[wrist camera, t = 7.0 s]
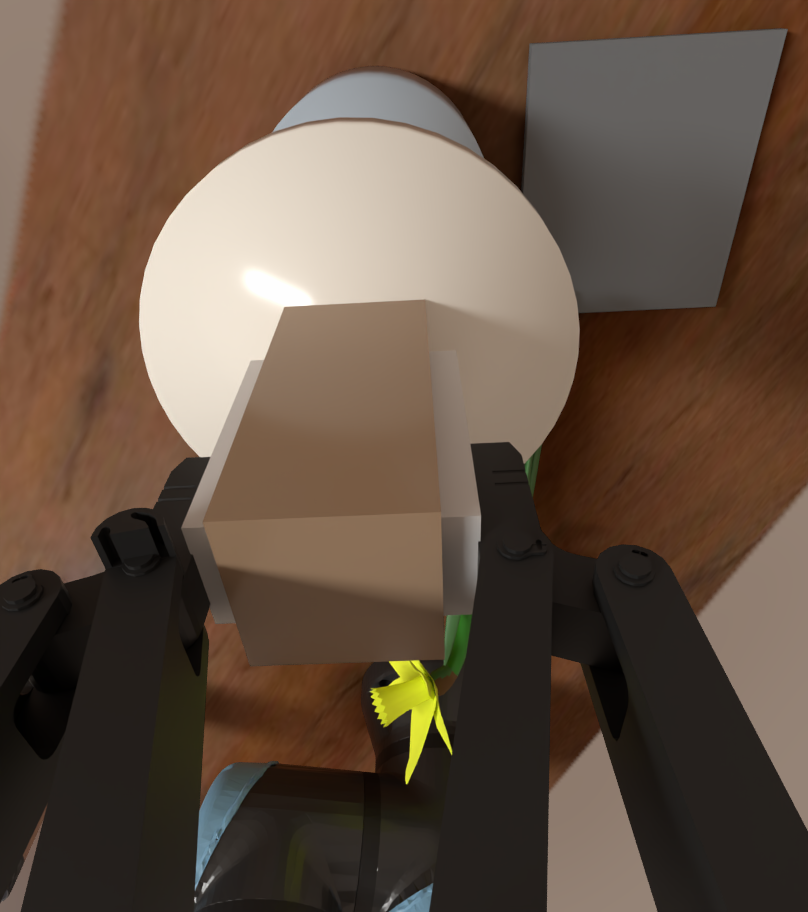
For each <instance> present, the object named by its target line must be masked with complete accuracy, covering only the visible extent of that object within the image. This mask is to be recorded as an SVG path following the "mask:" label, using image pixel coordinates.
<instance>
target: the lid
mask: <svg viewBox="0 0 808 912" xmlns="http://www.w3.org/2000/svg"><path fill="white" fill-rule="evenodd" d="M139 327H140V336H141V345H142V352H143V356H144V360H145V364H146V367H147V371H148V375H149V378H150V380H151V383H152V385H153V388H154V390H155V392H156V395H157V397H158V400H159V402H160V403H161V405H162V407H163V409H164V410H165V412H166V414H167V416H168V417H169V419H170V421H171V423H172V424H173V425H174V427H175V428H176V429H177V431H178V432H179V433H180V435H181V436H182V437H183V439H184V440H185V441H186V443H187V444H188V445H189V446H190V447H191V448H192V449H193V450H194V451H195V452H196V453H197V454H198V455H199V456H200V457H211V455H212V453H213V450H214V448H215V445H216V443H217V440H218V438H219V436H220V433H221V431H222V428H223V426H224V424H225V421H226V419H227V416H228V414H229V412H230V409H231V407H232V404H233V402H234V400H235V397H236V395H237V392H238V390H239V388H240V385H241V383H242V380H243V378H244V376H245V373H246V371H247V368H248V366H249V363H250V361H251V360H264V362H263V364H262V367H261V370H260V372H259V375H258V377H257V380H256V383H255V385H254V388H253V391H252V393H251V396H250V398H249V401H248V404H247V406H246V409H245V412H244V414H243V417H242V419H241V422H240V425H239V427H238V430H237V433H236V435H235V438H234V440H233V443H232V446H231V448H230V451H229V454H228V456H227V459H226V461H225V464H224V467H223V469H222V472H221V475H220V477H219V480H218V483H217V485H216V488H215V490H214V493H213V496H212V498H211V501H210V504H209V506H208V509H207V511H206V514H205V517H204V519H203V525H204V528H205V531H206V534H207V537H208V540H209V543H210V546H211V549H212V552H213V555H214V558H215V561H216V564H217V568H218V571H219V574H220V577H221V580H222V583H223V586H224V589H225V592H226V595H227V598H228V601H229V604H230V607H231V610H232V613H233V616H234V619H235V622H236V625H237V628H238V631H239V634H240V637H241V640H242V643H243V646H244V649H245V652H246V655H247V658H248V661H249V664H250V666H270V665H299V664H329V663H358V662H387V661H416V660H445V647H444V608H443V569H442V529H441V505H440V491H439V477H438V464H437V450H436V437H435V423H434V410H433V396H432V383H431V369H430V356H429V352H431V351H451V350H456V352H457V358H458V365H459V372H460V378H461V385H462V392H463V398H464V405H465V412H466V419H467V425H468V432H469V439H470V444H474V443H496V442H510V443H511V444H512V445H513V446H514V447H515V448H516V449H517V451H518V452H519V453H520V454H521V455H522V459H523V462H524V464H525V463H526V461H527V460H528V459H529V458H530V457H531V456H532V455H533V454H534V452H535V451H536V450H537V449H538V448H539V447H540V446H541V444H542V443H543V441H544V440H545V438H546V437H547V435H548V434H549V433H550V431H551V430H552V428H553V427H554V425H555V423H556V421H557V419H558V417H559V415H560V413H561V411H562V409H563V407H564V405H565V403H566V400H567V398H568V395H569V392H570V389H571V386H572V383H573V380H574V375H575V370H576V365H577V360H578V353H579V333H580V327H579V317H578V307H577V300H576V296H575V292H574V288H573V284H572V280H571V276H570V273H569V271H568V268H567V266H566V263H565V261H564V259H563V256H562V254H561V251H560V249H559V247H558V245H557V244H556V242H555V240H554V239H553V237H552V235H551V234H550V232H549V230H548V229H547V227H546V225H545V224H544V222H543V220H542V219H541V217H540V215H539V214H538V212H537V211H536V209H535V208H534V207H533V205H532V204H531V203H530V202H529V201H528V199H527V198H526V197H525V196H524V194H523V193H522V192H521V191H520V190H519V188H518V187H517V186H516V185H515V184H514V183H513V182H512V181H511V180H509V179H508V178H507V177H506V176H505V175H504V174H503V173H502V172H501V171H500V170H498V169H497V168H496V167H495V166H494V165H493V164H491V163H490V162H488V161H487V160H485V159H484V158H482V157H481V156H479V155H478V154H476V153H475V152H473V151H472V150H471V149H469V148H468V147H466V146H464V145H462V144H459V143H457V142H455V141H453V140H451V139H449V138H447V137H445V136H443V135H441V134H439V133H436V132H433V131H430V130H427V129H423V128H420V127H417V126H414V125H411V124H407V123H403V122H396V121H390V120H384V119H378V118H351V117H339V118H331V119H324V120H317V121H309V122H305V123H301V124H298V125H295V126H291V127H288V128H284V129H281V130H278V131H275V132H273V133H271V134H268V135H266V136H264V137H262V138H260V139H258V140H256V141H254V142H251V143H249V144H247V145H246V146H244V147H243V148H241V149H240V150H238V151H237V152H235V153H234V154H232V155H231V156H229V157H228V158H226V159H225V160H224V161H222V162H221V163H220V164H219V165H218V166H216V167H215V168H214V169H213V170H212V171H211V172H210V173H209V174H208V175H207V176H206V177H205V178H204V179H202V180H201V181H200V182H199V183H198V184H197V185H196V186H195V187H194V188H193V189H192V190H191V191H190V192H189V193H187V195H186V196H185V197H184V199H183V200H182V201H181V202H180V204H179V205H178V206H177V208H176V209H175V210H174V211H173V213H172V214H171V215H170V217H169V218H168V220H167V222H166V224H165V225H164V227H163V229H162V231H161V233H160V235H159V236H158V238H157V240H156V242H155V244H154V247H153V249H152V252H151V255H150V258H149V261H148V264H147V266H146V269H145V274H144V279H143V284H142V290H141V295H140V315H139Z"/></svg>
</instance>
